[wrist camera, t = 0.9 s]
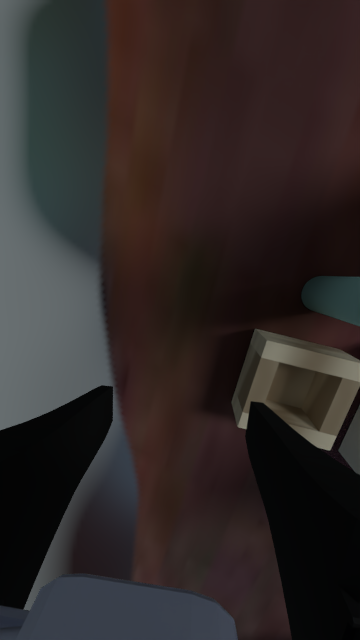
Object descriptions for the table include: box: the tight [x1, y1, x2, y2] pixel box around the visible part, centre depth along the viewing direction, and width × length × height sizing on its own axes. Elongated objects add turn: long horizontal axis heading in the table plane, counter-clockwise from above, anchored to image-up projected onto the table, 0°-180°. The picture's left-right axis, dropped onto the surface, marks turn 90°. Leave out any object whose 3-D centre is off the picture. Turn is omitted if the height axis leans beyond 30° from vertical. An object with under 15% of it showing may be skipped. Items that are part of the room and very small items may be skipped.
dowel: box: [301, 276, 360, 326], centre depth 15 cm, size 3×3×8 cm
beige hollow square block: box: [231, 329, 360, 451], centre depth 19 cm, size 8×8×4 cm
